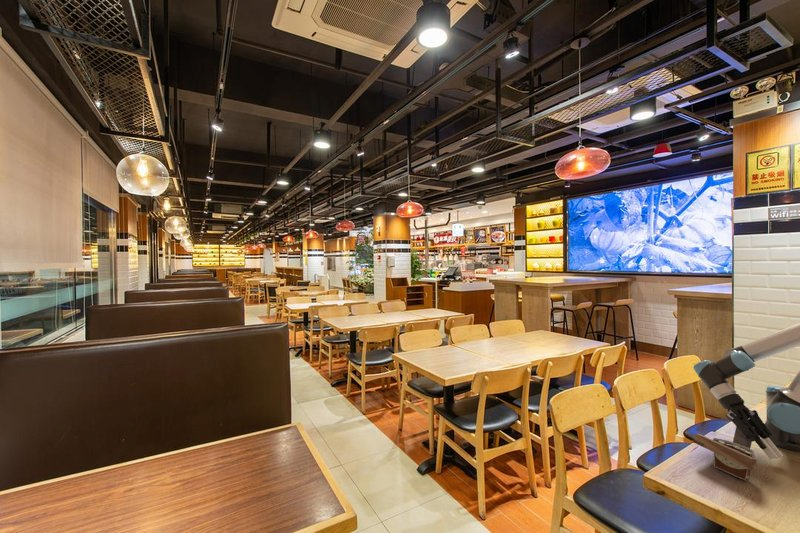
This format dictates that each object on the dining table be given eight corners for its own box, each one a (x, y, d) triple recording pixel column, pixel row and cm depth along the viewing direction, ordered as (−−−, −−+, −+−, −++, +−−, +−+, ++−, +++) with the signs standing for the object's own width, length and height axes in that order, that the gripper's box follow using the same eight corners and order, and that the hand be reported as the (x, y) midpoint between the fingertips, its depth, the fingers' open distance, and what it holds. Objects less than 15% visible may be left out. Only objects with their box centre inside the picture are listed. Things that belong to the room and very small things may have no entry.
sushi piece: (762, 483, 120) (764, 453, 120) (751, 483, 118) (753, 452, 119) (720, 465, 131) (723, 438, 132) (709, 464, 130) (711, 437, 131)
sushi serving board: (737, 450, 140) (743, 423, 141) (796, 476, 124) (802, 445, 124) (693, 442, 133) (699, 413, 134) (749, 468, 116) (756, 436, 117)
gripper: (734, 399, 150) (783, 458, 133) (705, 402, 147) (752, 463, 131) (749, 391, 144) (801, 452, 128) (719, 394, 142) (769, 456, 126)
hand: (776, 457), depth 130 cm, fingers open, 2 cm apart
